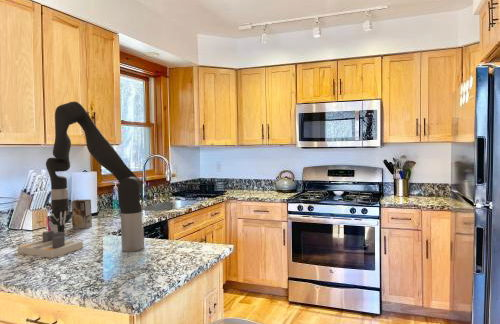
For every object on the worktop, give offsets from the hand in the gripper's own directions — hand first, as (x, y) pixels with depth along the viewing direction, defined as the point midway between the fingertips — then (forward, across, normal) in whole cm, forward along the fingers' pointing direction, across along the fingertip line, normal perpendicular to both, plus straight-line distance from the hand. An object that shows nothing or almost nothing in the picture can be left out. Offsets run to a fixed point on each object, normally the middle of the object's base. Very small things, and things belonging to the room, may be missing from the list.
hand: (61, 232), depth 180 cm
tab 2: (+3, +7, +7) cm, 10 cm away
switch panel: (+5, +12, +7) cm, 14 cm away
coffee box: (+5, -28, -17) cm, 33 cm away
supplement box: (+5, -7, -13) cm, 16 cm away
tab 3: (+3, +13, +14) cm, 19 cm away
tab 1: (+3, +7, 0) cm, 8 cm away
